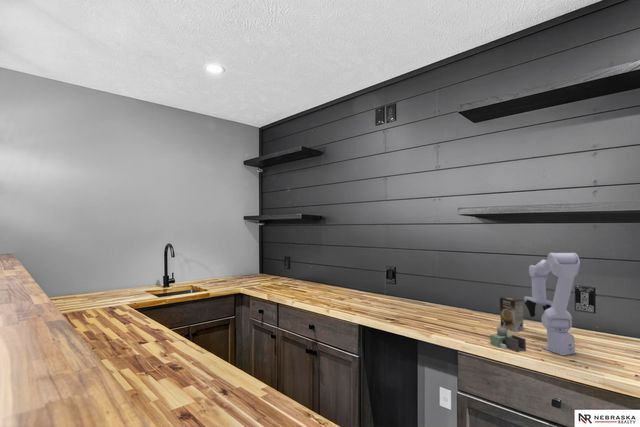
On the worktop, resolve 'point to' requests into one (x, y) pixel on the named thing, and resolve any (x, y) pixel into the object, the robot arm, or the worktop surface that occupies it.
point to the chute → (515, 343)
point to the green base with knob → (500, 337)
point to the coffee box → (511, 313)
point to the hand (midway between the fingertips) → (539, 318)
